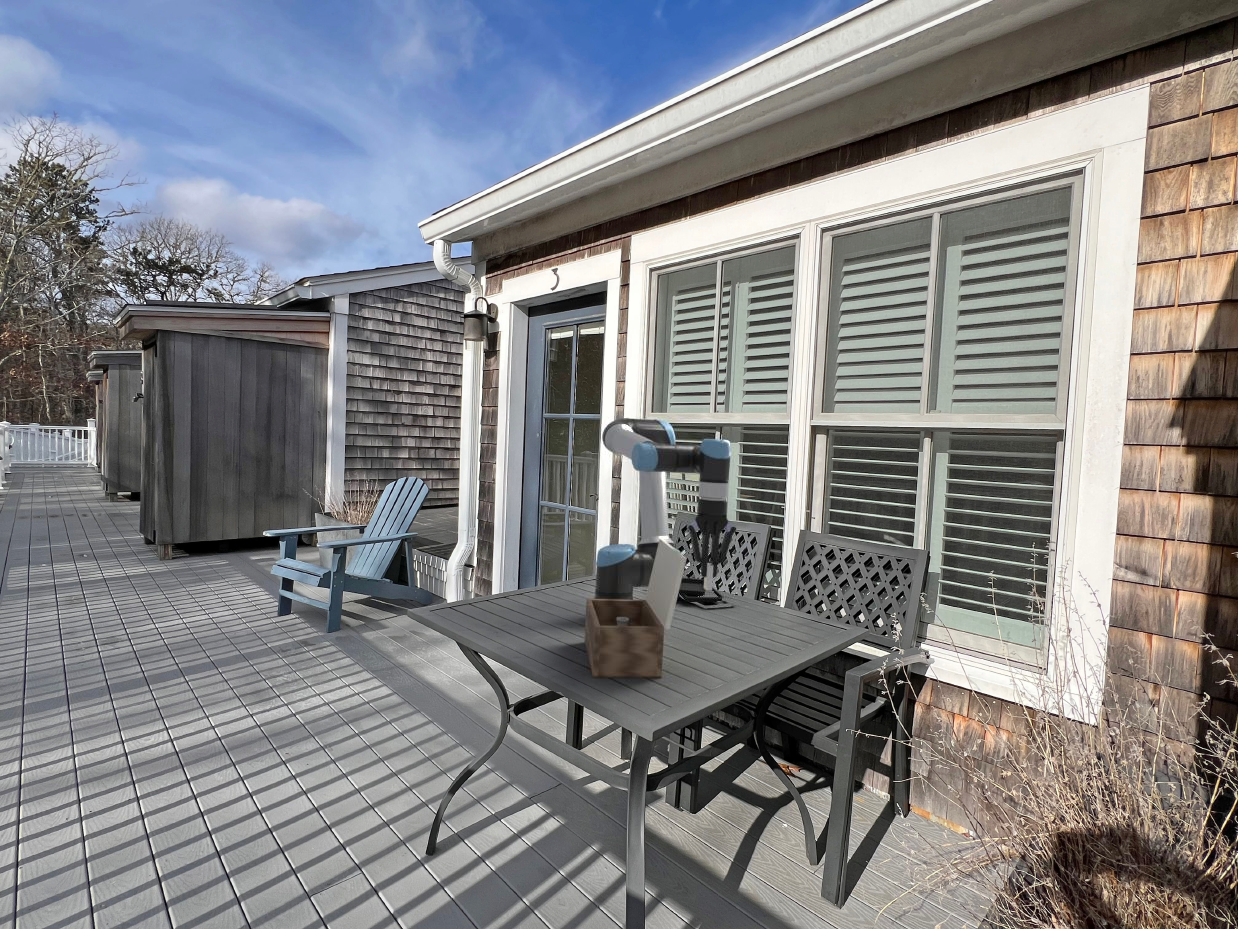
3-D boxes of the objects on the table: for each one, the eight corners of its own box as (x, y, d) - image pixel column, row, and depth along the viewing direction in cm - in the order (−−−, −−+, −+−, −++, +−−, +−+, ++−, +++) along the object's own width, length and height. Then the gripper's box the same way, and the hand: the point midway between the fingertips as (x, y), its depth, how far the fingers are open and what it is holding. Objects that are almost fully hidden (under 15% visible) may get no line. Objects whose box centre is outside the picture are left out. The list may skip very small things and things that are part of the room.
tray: (747, 606, 229) (748, 591, 229) (699, 614, 215) (700, 598, 215) (688, 588, 253) (689, 574, 253) (642, 594, 239) (643, 580, 239)
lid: (645, 599, 181) (649, 600, 181) (664, 628, 154) (669, 629, 154) (659, 538, 181) (663, 539, 181) (681, 557, 153) (686, 558, 154)
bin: (643, 642, 181) (645, 600, 180) (661, 677, 155) (664, 628, 154) (584, 642, 179) (586, 598, 178) (592, 677, 153) (595, 627, 152)
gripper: (732, 498, 173) (727, 586, 173) (684, 496, 171) (680, 585, 172) (741, 501, 165) (736, 593, 166) (691, 499, 163) (686, 592, 164)
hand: (707, 589), depth 169 cm, fingers closed
